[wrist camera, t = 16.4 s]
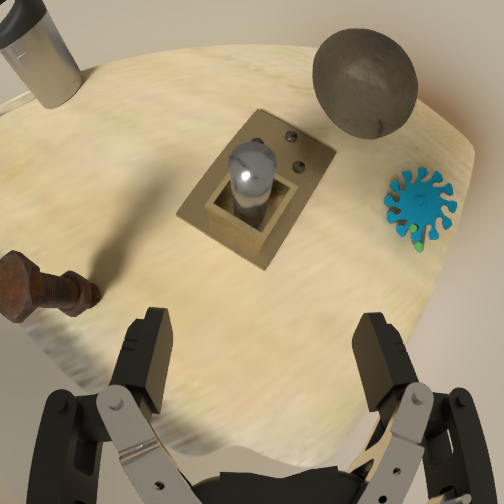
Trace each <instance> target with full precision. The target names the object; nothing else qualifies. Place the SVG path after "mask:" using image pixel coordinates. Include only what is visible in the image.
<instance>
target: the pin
mask: <svg viewBox="0 0 504 504" xmlns="http://www.w3.org/2000/svg"><path fill="white" fill-rule="evenodd" d="M228 164H229V173H230V181H231V190H232V198H233V206H234V214H235V217H237V218H238V219H240V220H241V221H243V222H245V223H246V224H248V225H250V226H254V225H257V224H259V223H260V222H261V221H262V220H263V219H264V217H265V214H266V210H267V206H268V201H269V197H270V193H271V188H272V184H273V180H274V175H275V171H276V167H277V159H276V156H275V154H274V152H273V151H272V150H271V149H270V148H269V147H268V146H266V145H264V144H262V143H259V142H246V143H243V144H240V145H239V146H237V147H236V148H235V149H234V150H233V151H232V152H231V154H230V156H229V161H228Z"/></svg>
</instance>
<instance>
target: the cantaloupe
mask: <svg viewBox="0 0 504 504" xmlns="http://www.w3.org/2000/svg"><path fill="white" fill-rule="evenodd" d="M312 77H313V85H314V90H315V93H316V96H317V99H318V101H319V103H320V105H321V107H322V108H323V110H324V111H325V113H326V114H327V116H328V117H329V118H330V119H331V121H332V122H333V123H334V124H336V125H337V126H338V127H339V128H341V129H342V130H343V131H345V132H347V133H349V134H350V135H352V136H355V137H358V138H363V139H377V138H380V137H383V136H386V135H388V134H390V133H392V132H394V131H396V130H397V129H399V128H400V127H402V126H403V125H404V124H405V122H406V121H407V120H408V118H409V117H410V115H411V113H412V111H413V108H414V106H415V103H416V99H417V91H418V83H417V77H416V73H415V70H414V67H413V65H412V62H411V60H410V58H409V57H408V55H407V54H406V53H405V51H404V50H403V49H402V47H401V46H399V45H398V44H397V43H396V42H395V41H393V40H392V39H391V38H389V37H387V36H385V35H383V34H381V33H378V32H376V31H373V30H369V29H346V30H342V31H339V32H337V33H335V34H333V35H332V36H330V37H329V38H328V39H326V41H324V43H323V44H322V45H321V46H320V48H319V49H318V51H317V53H316V55H315V58H314V62H313V76H312Z"/></svg>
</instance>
